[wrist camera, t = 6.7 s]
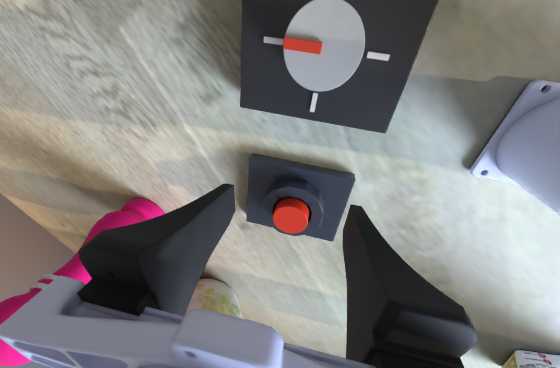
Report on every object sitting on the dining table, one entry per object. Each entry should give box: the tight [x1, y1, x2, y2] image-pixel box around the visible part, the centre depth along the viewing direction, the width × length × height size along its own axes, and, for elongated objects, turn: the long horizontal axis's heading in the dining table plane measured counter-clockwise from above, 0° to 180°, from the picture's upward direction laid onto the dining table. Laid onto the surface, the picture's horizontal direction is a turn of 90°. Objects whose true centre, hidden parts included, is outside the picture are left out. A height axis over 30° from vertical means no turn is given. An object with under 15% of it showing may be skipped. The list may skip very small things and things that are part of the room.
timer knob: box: [283, 0, 365, 91], centre depth 13 cm, size 4×4×4 cm
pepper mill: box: [0, 198, 165, 366], centre depth 25 cm, size 7×7×20 cm
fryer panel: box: [240, 0, 439, 133], centre depth 16 cm, size 12×10×3 cm
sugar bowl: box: [185, 278, 243, 318], centre depth 34 cm, size 20×15×15 cm
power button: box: [273, 198, 309, 234], centre depth 23 cm, size 4×4×2 cm
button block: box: [246, 154, 355, 241], centre depth 25 cm, size 11×9×3 cm
